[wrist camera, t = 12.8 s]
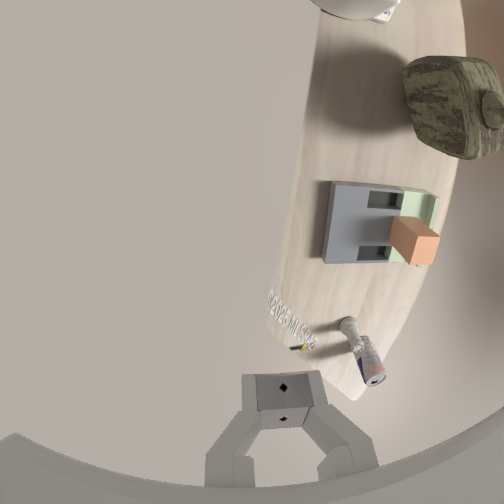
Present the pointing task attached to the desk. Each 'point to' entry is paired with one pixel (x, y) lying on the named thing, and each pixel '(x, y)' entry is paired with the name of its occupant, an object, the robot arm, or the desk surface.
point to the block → (413, 240)
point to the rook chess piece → (352, 333)
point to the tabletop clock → (456, 105)
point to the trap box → (370, 220)
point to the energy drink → (370, 363)
